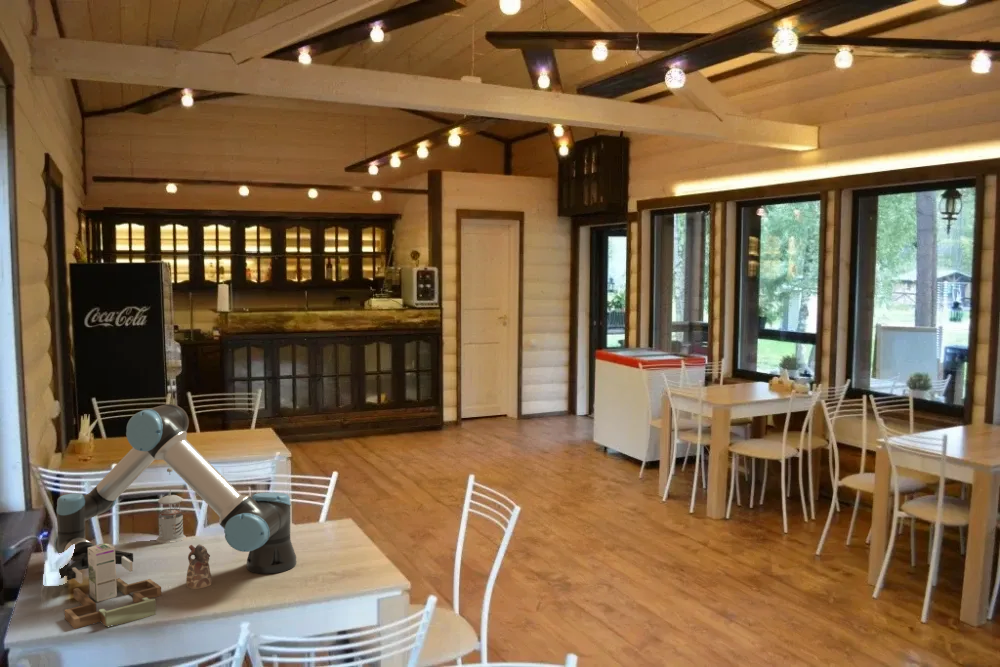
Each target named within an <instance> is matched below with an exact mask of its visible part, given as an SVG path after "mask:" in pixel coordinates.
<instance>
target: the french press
mask: <svg viewBox="0 0 1000 667" xmlns="http://www.w3.org/2000/svg"><path fill="white" fill-rule="evenodd" d="M173 471H174V470H173V469H172V468H171V467H168V468H166V472H167V473H169V474H171V473H172V472H173ZM171 490H172V489H169V494H168V495H164V496H163V497H160V498H159V499H158V500H157V502H158V503H159V504H161V505H169V508H166V509H162V510H160V511H159V515H158V537H157V538H156V540H155V541H156V543H160V544H174V543H175V542H173V543H172V542H170V541H179V542H181V540H182V541H183V538H186V539H187V536H186V535H185V534H184V526H183V525H184V523H183V522H184V519H183V517H184V515H183V513H182V509H181V505H180V503H181V502H183V500H184V498H183V497H181V496H179V495H176V494H171ZM176 505H178V508H177V507H176ZM172 506H174V507H175V508H172Z"/></svg>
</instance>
